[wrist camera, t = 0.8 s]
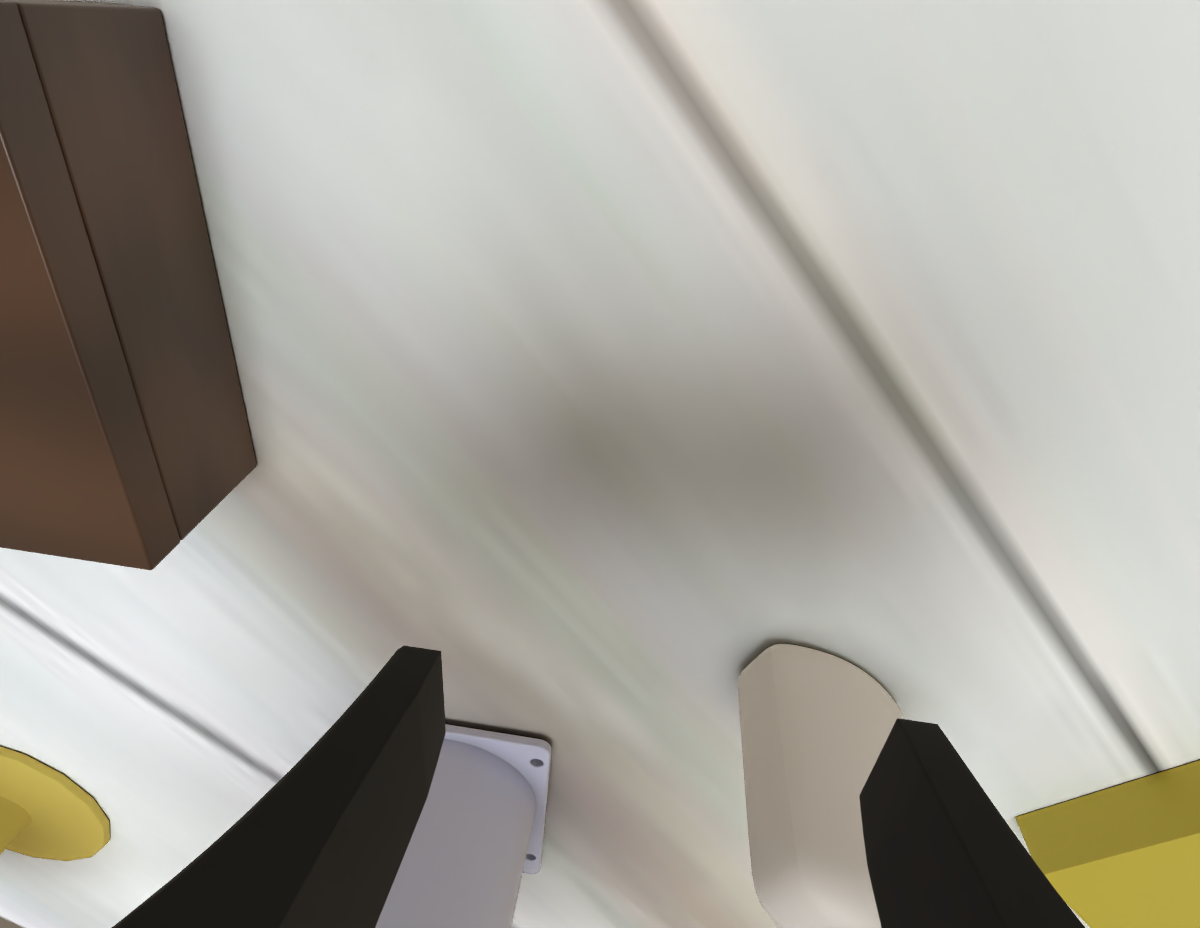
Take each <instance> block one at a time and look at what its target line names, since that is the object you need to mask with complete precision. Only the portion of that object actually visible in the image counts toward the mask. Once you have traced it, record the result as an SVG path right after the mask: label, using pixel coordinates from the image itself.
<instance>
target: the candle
mask: <svg viewBox="0 0 1200 928" xmlns="http://www.w3.org/2000/svg"><path fill="white" fill-rule="evenodd" d="M109 840H110V827H109V820H108V819H107V817H106V816H105V814H104V813H103V811H102V810H101V809H100V807H99V806H98V804H97V803H96V802H95V800H94V799H93V798H92V797H91V796H90V795H88V794H87V793H86V792H85V791H83V790H82V789H81V788H80V787H78V786H77V785H76V784H75V783H73V782H72V781H71V780H70V779H68V778H67V777H66V776H65V775H63V774H61V773H59V772H57V771H56V770H54V769H52V768H50V767H48V766H46V765H44V764H42V763H40V762H38V761H36V760H34V759H32V758H31V757H29V756H27V755H25V754H22V753H19V752H16V751H13V750H10V749H7V748H3V747H0V854H1V853H2V852H3V851H4V850H5V849H8V850H11V851H14V852H17V853H21V854H24V855H27V856H31V857H36V858H44V859H53V860H62V861H70V860H76V859H83V858H89V857H92V856H93V855H95V854H96V853H97V852H98V851H99V850H100V849H101V848H103V847H104V846H105V845H106V844H107V843H108V842H109Z"/></svg>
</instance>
